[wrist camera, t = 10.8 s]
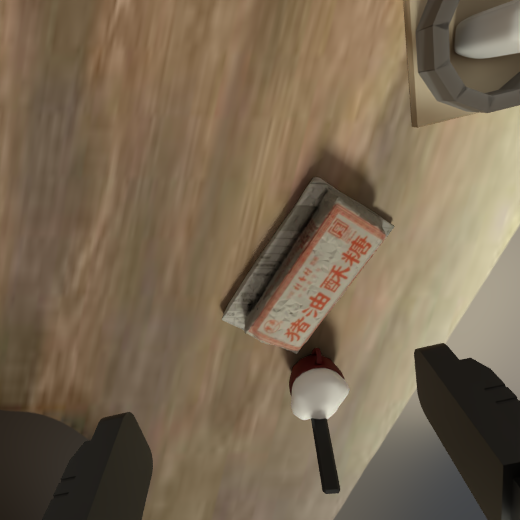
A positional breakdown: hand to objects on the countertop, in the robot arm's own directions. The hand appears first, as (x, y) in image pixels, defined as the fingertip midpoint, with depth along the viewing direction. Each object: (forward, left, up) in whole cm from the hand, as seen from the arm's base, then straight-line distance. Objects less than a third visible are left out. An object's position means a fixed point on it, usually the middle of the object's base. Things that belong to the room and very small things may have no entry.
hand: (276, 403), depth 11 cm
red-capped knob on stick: (+23, +2, -28) cm, 37 cm away
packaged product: (+10, +4, -29) cm, 31 cm away
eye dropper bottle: (-8, +22, -27) cm, 36 cm away
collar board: (-8, +22, -28) cm, 37 cm away
